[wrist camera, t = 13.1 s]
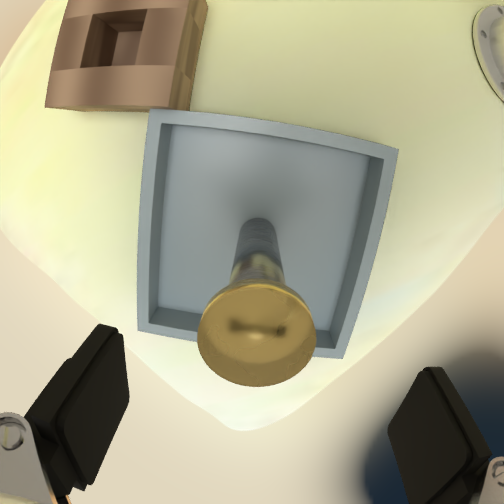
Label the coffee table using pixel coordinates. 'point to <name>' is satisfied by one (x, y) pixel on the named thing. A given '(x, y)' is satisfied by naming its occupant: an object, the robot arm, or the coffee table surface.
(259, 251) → the pin
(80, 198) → the coffee table surface
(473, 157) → the coffee table surface
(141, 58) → the holder block
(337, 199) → the tray
